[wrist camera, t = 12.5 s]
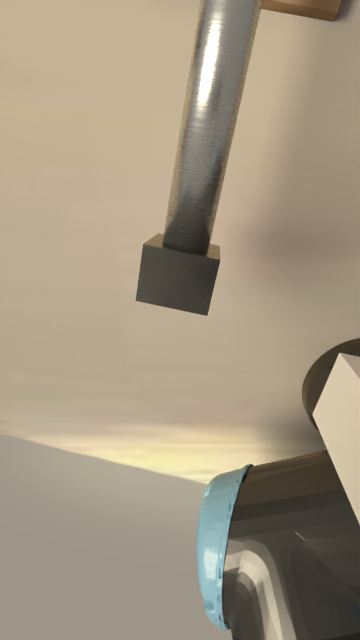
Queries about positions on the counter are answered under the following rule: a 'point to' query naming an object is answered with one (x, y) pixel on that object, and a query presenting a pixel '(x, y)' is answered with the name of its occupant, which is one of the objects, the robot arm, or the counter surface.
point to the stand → (305, 7)
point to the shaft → (201, 160)
